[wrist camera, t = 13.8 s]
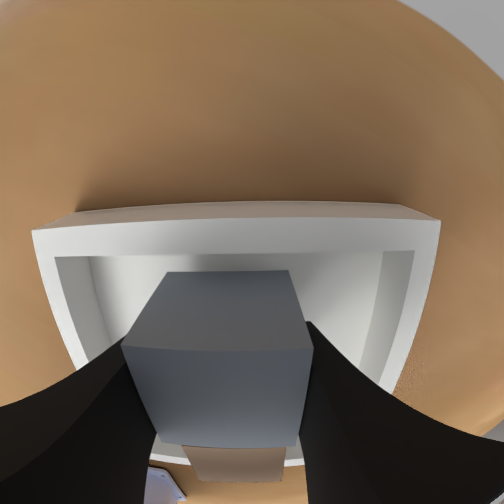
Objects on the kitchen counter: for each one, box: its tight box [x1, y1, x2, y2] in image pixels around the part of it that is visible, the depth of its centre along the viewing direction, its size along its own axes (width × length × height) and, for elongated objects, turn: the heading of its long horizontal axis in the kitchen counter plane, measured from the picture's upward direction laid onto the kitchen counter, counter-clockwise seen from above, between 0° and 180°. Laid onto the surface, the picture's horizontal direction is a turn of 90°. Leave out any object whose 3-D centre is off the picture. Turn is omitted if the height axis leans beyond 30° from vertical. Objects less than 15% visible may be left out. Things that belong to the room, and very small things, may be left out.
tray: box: [31, 201, 441, 467], centre depth 11 cm, size 14×14×3 cm
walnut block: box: [182, 445, 287, 482], centre depth 11 cm, size 4×4×4 cm
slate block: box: [121, 270, 314, 448], centre depth 8 cm, size 4×4×4 cm
